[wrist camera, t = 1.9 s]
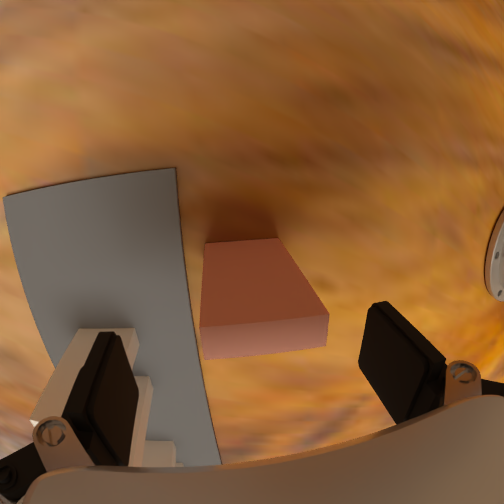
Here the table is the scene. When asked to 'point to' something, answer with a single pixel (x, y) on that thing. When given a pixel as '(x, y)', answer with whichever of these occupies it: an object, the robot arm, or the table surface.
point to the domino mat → (119, 288)
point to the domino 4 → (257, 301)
